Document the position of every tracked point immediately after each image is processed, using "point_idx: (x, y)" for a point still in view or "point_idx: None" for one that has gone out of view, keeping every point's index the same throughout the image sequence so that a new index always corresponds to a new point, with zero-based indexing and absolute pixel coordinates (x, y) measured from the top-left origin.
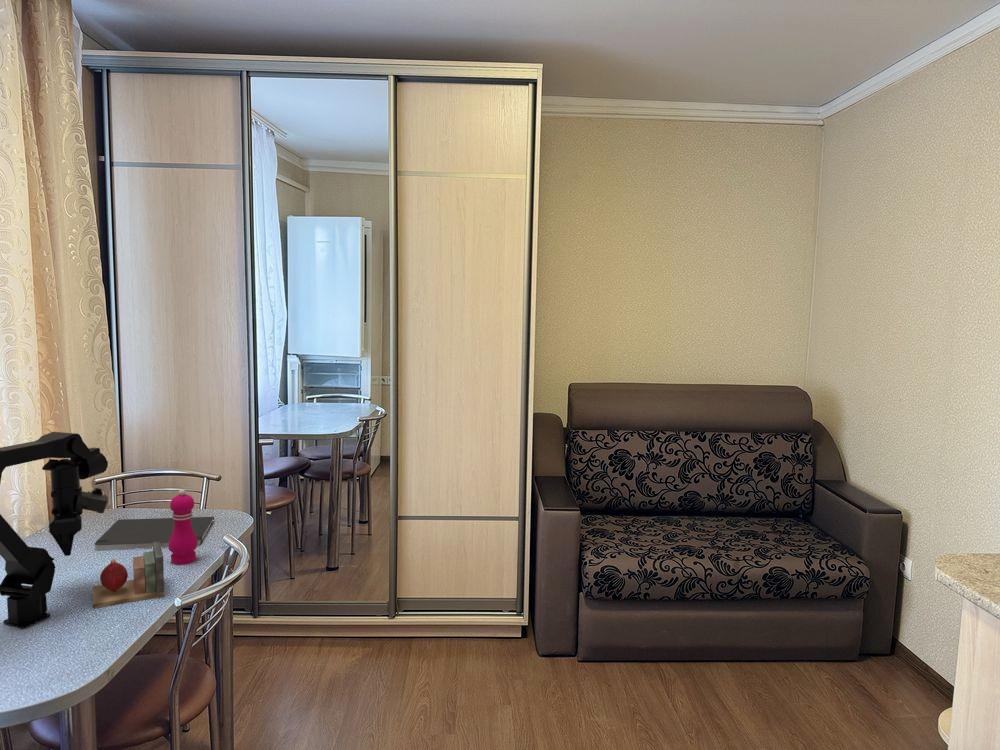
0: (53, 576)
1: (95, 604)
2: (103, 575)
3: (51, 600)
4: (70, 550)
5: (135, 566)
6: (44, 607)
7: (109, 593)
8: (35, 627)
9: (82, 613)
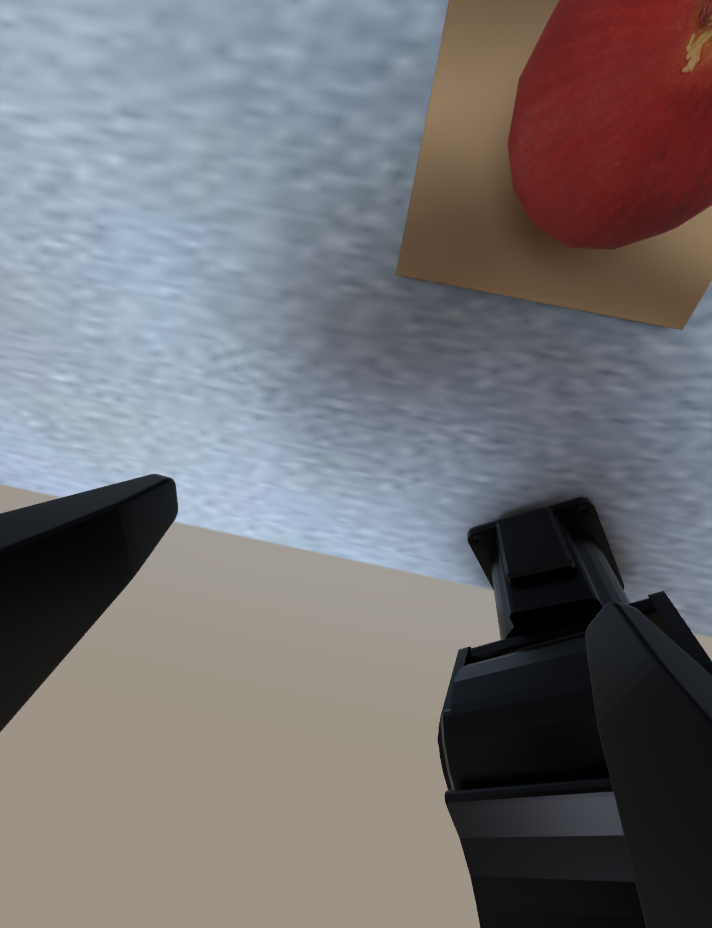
0: (700, 647)
1: (688, 312)
2: (678, 220)
3: (405, 456)
4: (702, 676)
5: None
6: (567, 532)
7: None
8: (642, 554)
9: (682, 383)
